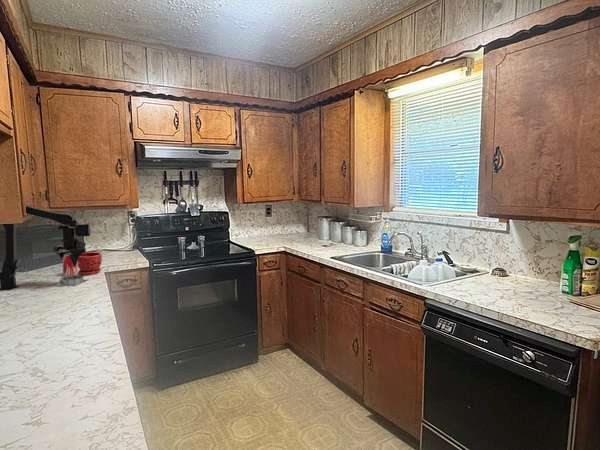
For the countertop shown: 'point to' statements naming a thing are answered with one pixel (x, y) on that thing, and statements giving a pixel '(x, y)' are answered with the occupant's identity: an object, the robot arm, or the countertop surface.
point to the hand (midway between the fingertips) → (70, 265)
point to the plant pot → (89, 263)
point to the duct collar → (71, 281)
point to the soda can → (69, 266)
